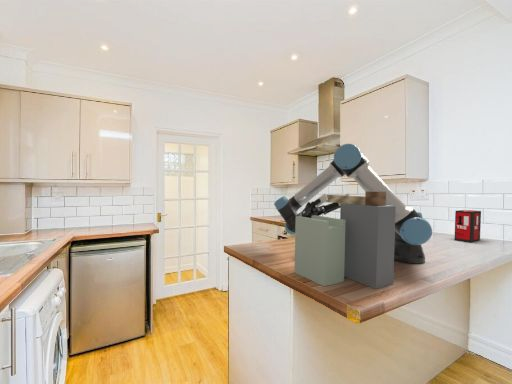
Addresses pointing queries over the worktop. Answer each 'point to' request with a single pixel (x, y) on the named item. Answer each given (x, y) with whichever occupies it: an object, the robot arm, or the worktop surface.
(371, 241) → the tall grey upright slab
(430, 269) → the worktop surface
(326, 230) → the sage green tall box
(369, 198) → the mallet
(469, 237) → the cleaning product box
